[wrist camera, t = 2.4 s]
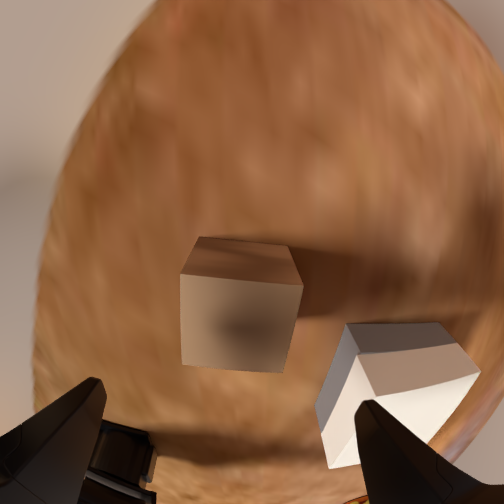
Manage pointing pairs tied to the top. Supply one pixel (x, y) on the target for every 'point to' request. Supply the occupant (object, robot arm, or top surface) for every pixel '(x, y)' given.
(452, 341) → the tower base slab
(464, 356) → the tower top slab
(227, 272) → the walnut block
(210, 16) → the top surface
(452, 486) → the robot arm
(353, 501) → the cheeseburger
